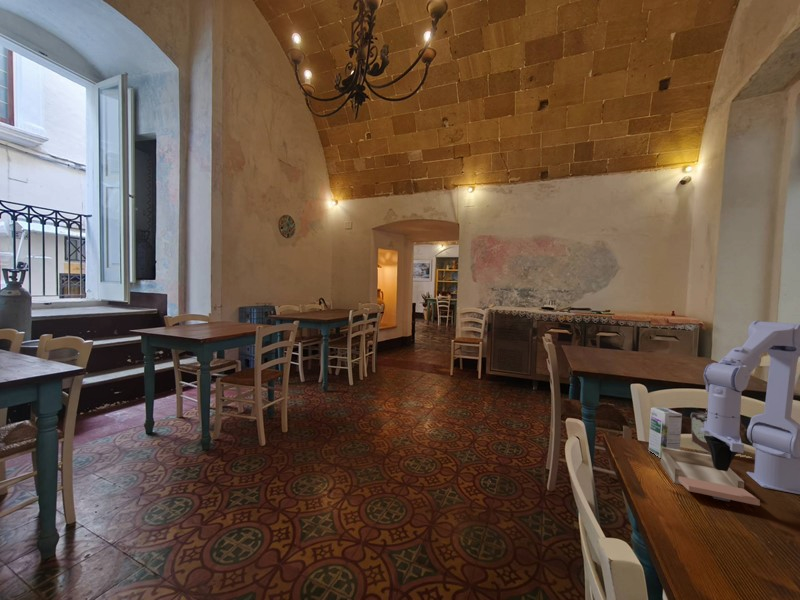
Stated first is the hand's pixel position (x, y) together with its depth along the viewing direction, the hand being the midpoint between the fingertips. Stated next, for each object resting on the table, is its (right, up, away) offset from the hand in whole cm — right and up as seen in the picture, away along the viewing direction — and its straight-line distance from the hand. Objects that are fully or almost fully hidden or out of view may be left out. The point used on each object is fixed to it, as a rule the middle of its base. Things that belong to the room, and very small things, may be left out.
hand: (720, 469), depth 82 cm
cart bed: (+5, -8, +11) cm, 15 cm away
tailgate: (+2, -6, +5) cm, 8 cm away
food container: (+26, -9, +30) cm, 41 cm away
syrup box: (+5, -8, +24) cm, 26 cm away
